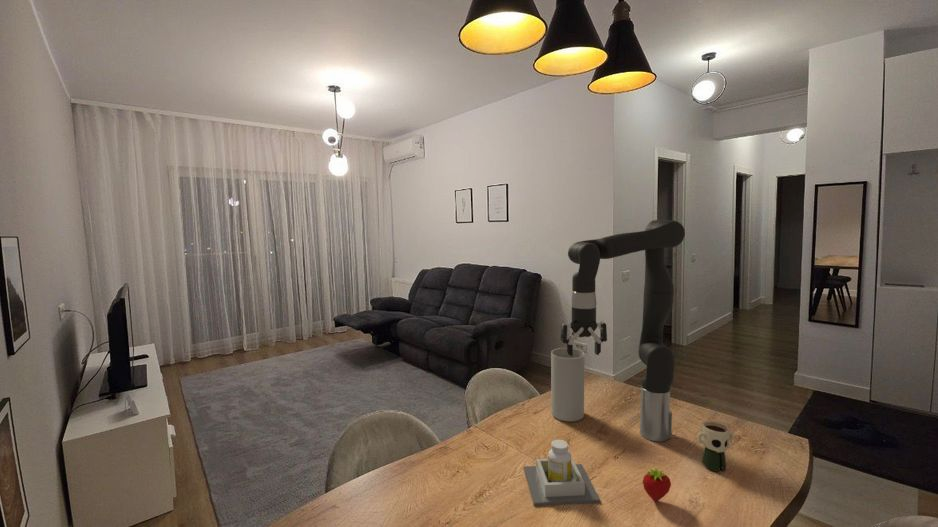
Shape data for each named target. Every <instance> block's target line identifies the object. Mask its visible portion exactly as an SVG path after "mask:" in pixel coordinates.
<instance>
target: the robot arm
mask: <svg viewBox="0 0 938 527" xmlns="http://www.w3.org/2000/svg"><path fill="white" fill-rule="evenodd" d="M685 231H686V230H685V226H684V225H683V224H682V223H681V222H679V221H677V220H673V219H655V220H651V221H650V222H648V224H647V225H646V227H645V230H640V231H632V232H631V231H630V232H624V233H617V234H612V235H609V236H604V237H601V238H596V239H587V240H586V239H585V240H581V241H576V242H574V243H572V244H571V245H570V247H569V248H568V251H567V257H568V258H569V260H570V261H571V262H573V264H574V263H575V264H577V265H579V266H578V271H577V272H575V273H573V275H572V282H571V285H572V291H571V322H570V323H565V322H562V323H561V324H560V325H561V326H560V330H561V331H560V341H561V342H562V343H563V344H566V348H567V353H568V354H569V355H570V356H573V348H574V347H573V343H574V342H575V341H576V340H577V339H578V338H590V337H592V339H594V354H595V355H596V356H599V355H600V353H601V351H602V343H604V342H607V341H608V332H607V324H606V322H604V321H599V322H597V305H598V304H597V295H596V278H597V275H598V270H599V267H600V262H601V260H609V259H614V258H617V257H622V256H625V255H629V254H633V253H638V252H642V251H643V252H644V262H645V265H644V285H643V286H644V287H643V305H642V306H643V307H642V325H641V332H640V338H639V344H638V358H639V360H641V362H642V363H643V364H644V365H646V369H645V370H646V372H645V373H646V374H645V376H642V378H641V381H640V414H639V415H640V417H639V418H640V420H639V433H640V436H642V437H643V438H645V440H650V441H652V442H661V443H662V442H666V441H667V440H670V439H672V432H673V429H672V427H673V413H672V412H673V411H671V410H670V405H671V386H672V384H673V383H674V375H675V374H674V373H675V355H674V353H673V350H671V349H670V348H669V347H667V346H666V345H665V344H664V341H663V340H664V339H663V338H664V327H665V324H666V321H667V319H668V318H669V316H670V314H671V311H672V308H673V304H674V295H675V294H674V293H675V292H674V291H675V288H674V283H673V280H672V277H671V274H670V272H669V271H668V268H667V265H666V262H665V249H672V248H676V247H677V246H679V245H681V243H683V241H684V239H685V235H686V232H685ZM570 329H571V330H572V331H571V332H570V334H569V336H568V331H569V330H570ZM597 329H599V332H600V337H599V336H598V334H597V333H596V332H595V331H596V330H597Z"/></svg>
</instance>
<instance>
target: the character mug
mask: <svg viewBox="0 0 938 527" xmlns="http://www.w3.org/2000/svg"><path fill="white" fill-rule="evenodd" d="M733 433H734V432H733V431H731V430H730V428H729V427H728V426H727V425H725V424H724V423H722V422H719V421H714V420H706V421H703V422H702V424H701V432H698V433H697V443H698V444H702V445H703V446H704V451H703V454H702V460H701V463H702V464H703V465H704V466H705V467H706V468H707V469H709V470H711V471H715V472H720V469H721V470H722V472H724V471H725V470H726V469H727V468H726V467H727V466H726V464H727V462H726V453H725V452H727V451H728V450H729V447H730V442H733V436H734V434H733Z"/></svg>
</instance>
